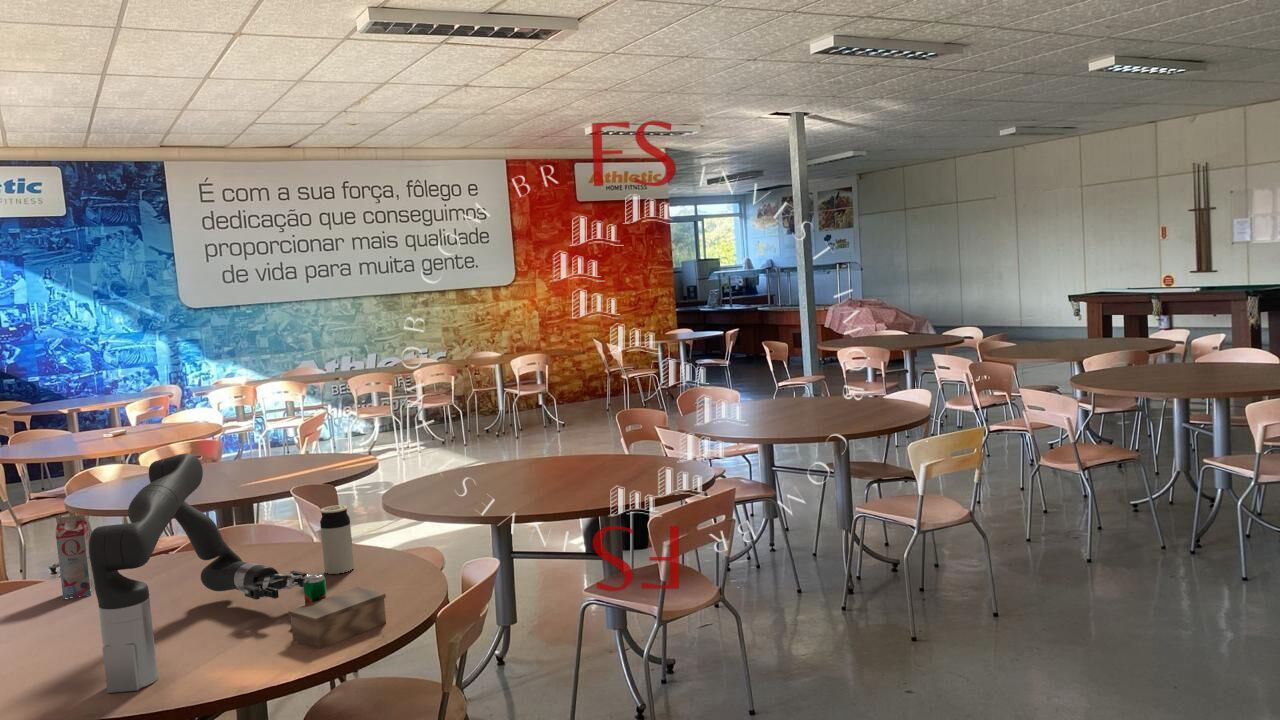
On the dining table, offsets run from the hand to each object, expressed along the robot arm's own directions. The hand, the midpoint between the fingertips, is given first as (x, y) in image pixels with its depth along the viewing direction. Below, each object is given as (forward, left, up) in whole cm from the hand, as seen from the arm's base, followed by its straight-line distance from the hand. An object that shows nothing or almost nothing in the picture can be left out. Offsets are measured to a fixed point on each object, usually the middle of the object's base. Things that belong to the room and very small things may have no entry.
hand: (293, 588), depth 232 cm
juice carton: (+36, +69, -8) cm, 79 cm away
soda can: (-6, -7, -8) cm, 12 cm away
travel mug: (+39, -1, -8) cm, 40 cm away
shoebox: (-12, -14, -8) cm, 19 cm away
